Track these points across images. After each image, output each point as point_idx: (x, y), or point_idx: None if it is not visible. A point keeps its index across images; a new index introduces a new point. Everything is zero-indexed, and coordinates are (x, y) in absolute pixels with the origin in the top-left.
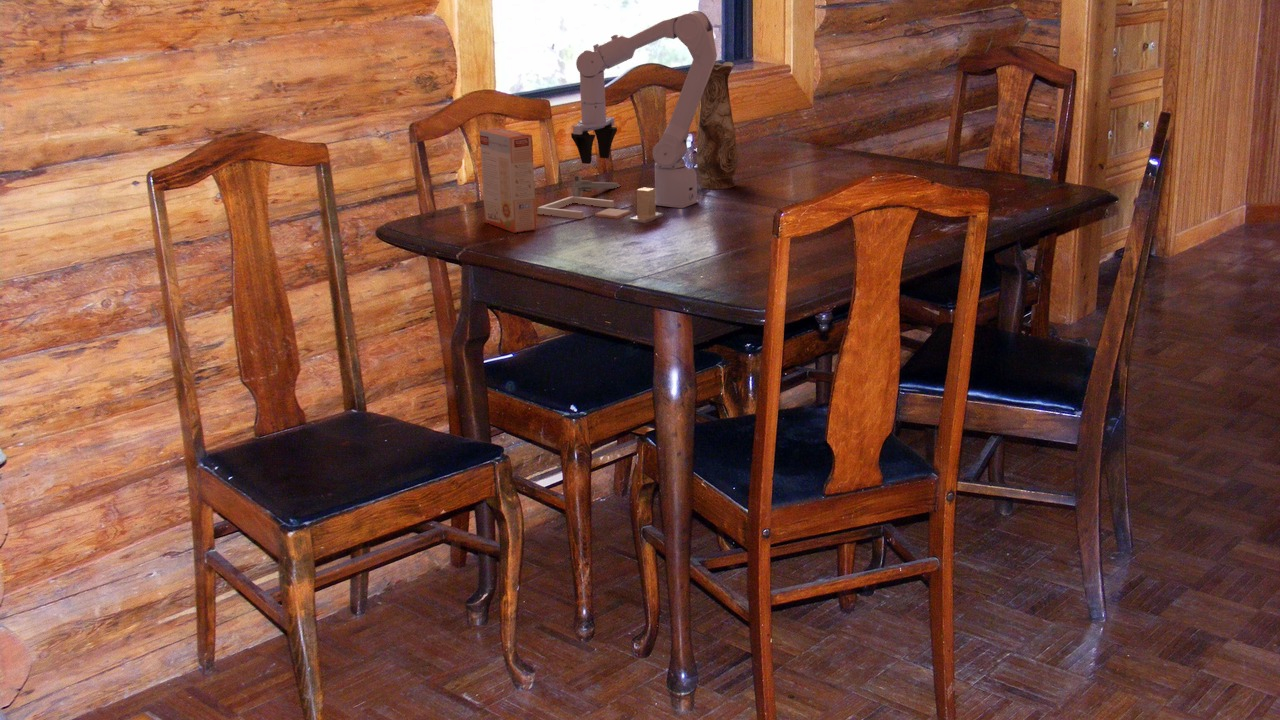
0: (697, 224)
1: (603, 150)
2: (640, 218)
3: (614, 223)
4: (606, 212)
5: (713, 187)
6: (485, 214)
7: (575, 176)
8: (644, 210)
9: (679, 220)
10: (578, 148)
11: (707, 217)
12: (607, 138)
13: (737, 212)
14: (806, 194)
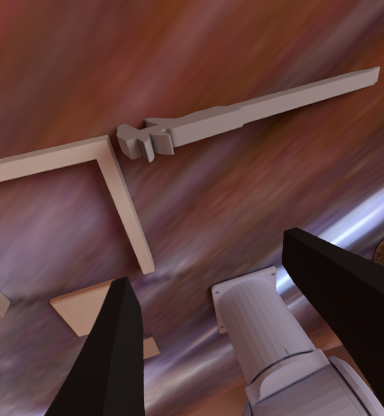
0: (151, 392)
1: (310, 276)
2: None
3: (47, 355)
4: (79, 310)
5: (376, 260)
6: None
7: (144, 145)
8: None
9: (153, 373)
10: (68, 386)
11: (193, 372)
12: (372, 367)
13: (240, 367)
14: None
